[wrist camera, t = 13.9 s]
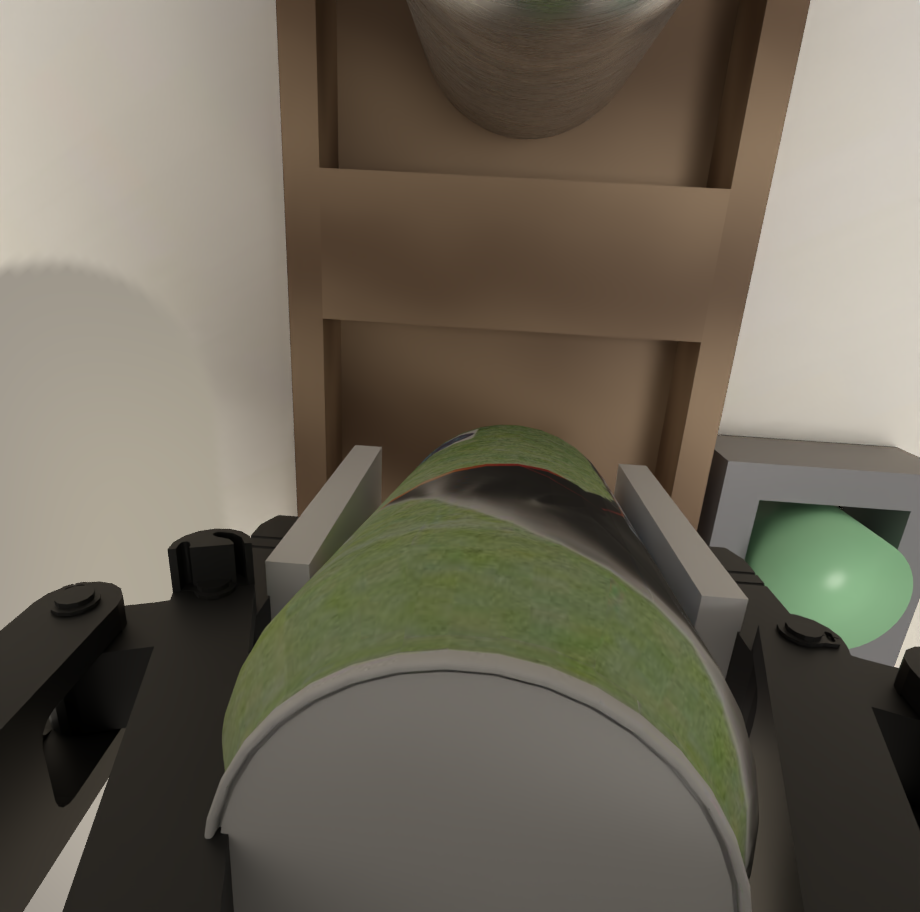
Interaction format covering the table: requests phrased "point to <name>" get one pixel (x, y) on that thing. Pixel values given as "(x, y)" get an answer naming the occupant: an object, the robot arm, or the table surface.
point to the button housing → (818, 501)
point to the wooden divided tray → (523, 245)
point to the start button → (829, 569)
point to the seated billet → (535, 57)
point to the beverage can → (487, 712)
